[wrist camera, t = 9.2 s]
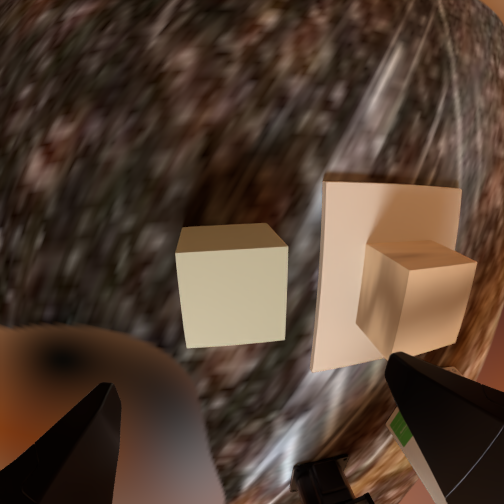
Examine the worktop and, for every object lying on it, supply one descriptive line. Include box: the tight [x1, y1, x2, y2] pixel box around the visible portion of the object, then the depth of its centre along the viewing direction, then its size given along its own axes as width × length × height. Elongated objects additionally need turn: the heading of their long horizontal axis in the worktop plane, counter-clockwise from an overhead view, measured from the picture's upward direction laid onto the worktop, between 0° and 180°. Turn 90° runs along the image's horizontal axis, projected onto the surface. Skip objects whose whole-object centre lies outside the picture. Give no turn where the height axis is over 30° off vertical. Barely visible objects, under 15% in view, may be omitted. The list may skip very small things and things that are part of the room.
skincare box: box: [386, 367, 464, 504], centre depth 20 cm, size 8×7×16 cm
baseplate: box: [310, 181, 462, 373], centre depth 21 cm, size 14×12×1 cm
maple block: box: [356, 240, 477, 361], centre depth 18 cm, size 6×6×5 cm
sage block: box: [175, 223, 288, 348], centre depth 17 cm, size 5×5×5 cm
